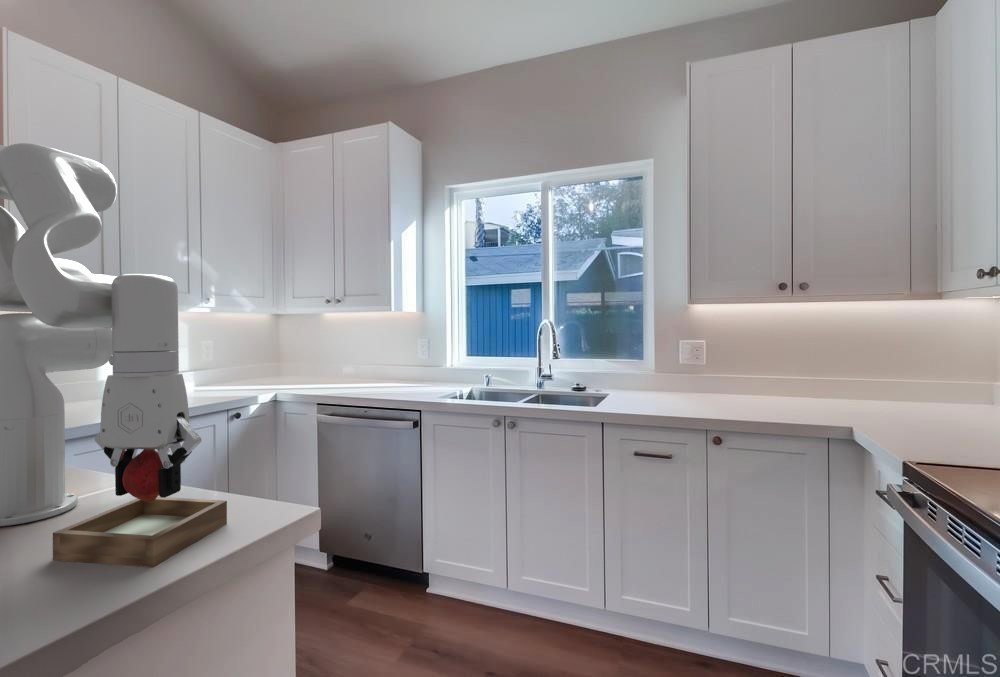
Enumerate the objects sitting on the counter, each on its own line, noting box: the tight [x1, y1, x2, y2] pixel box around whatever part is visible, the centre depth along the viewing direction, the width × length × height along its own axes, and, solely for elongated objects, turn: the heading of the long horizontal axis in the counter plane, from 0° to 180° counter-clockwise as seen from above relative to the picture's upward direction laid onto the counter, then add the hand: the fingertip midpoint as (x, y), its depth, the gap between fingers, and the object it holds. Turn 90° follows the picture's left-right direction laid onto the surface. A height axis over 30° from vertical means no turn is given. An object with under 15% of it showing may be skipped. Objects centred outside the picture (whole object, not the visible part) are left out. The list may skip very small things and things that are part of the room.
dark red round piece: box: [122, 449, 163, 502], centre depth 70 cm, size 6×6×8 cm
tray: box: [52, 496, 228, 568], centre depth 70 cm, size 14×14×4 cm
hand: (148, 492), depth 70 cm, fingers closed on dark red round piece, 5 cm apart
